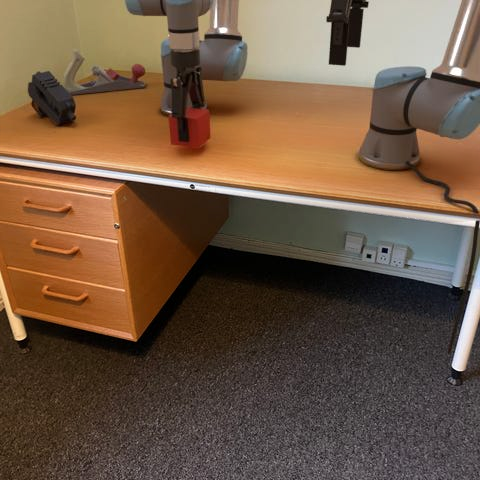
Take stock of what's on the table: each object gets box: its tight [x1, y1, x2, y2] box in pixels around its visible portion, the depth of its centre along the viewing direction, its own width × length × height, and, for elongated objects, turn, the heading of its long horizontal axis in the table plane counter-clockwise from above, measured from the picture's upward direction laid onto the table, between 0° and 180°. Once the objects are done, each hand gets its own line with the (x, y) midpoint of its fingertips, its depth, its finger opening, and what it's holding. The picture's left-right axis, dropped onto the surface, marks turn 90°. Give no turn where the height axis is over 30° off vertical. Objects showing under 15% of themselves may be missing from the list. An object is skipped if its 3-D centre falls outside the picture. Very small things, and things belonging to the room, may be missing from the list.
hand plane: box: [62, 48, 146, 96], centre depth 194 cm, size 7×31×15 cm, turn 107°
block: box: [167, 107, 211, 149], centre depth 144 cm, size 8×8×8 cm
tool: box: [27, 70, 77, 126], centre depth 167 cm, size 6×19×15 cm, turn 51°
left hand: (190, 135), depth 145 cm, fingers closed on block, 8 cm apart
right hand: (345, 55), depth 92 cm, fingers open, 13 cm apart
